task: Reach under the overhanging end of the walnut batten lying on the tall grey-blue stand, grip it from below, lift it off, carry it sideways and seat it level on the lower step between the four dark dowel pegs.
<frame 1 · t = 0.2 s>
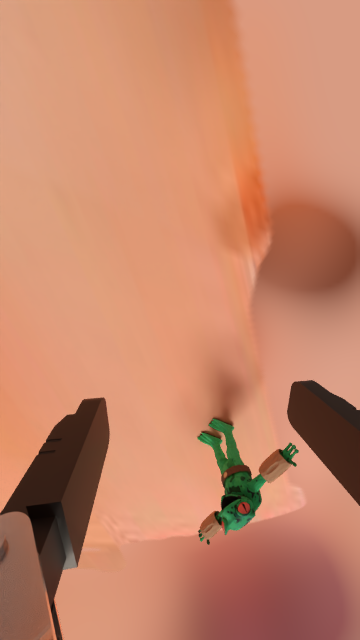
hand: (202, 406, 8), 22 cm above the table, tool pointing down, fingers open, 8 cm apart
toy: (216, 431, 42), on the table
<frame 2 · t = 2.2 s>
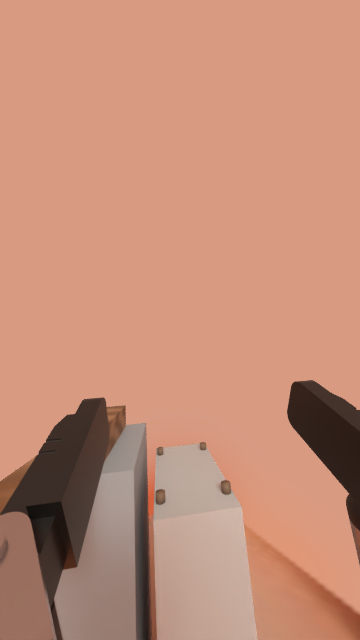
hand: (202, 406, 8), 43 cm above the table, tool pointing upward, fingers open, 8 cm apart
batten: (92, 457, 26), point 34 cm above the table, touching stand
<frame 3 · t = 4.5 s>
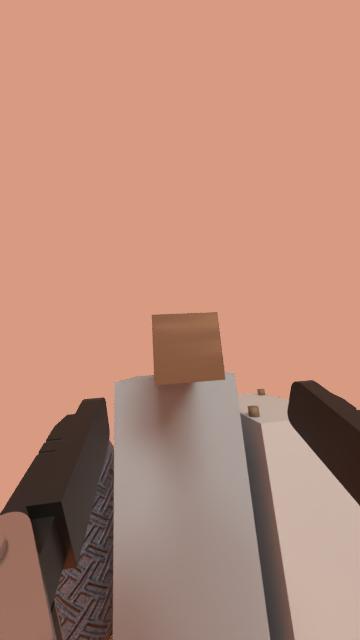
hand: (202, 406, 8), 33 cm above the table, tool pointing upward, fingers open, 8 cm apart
vase: (76, 625, 29), on the table
batten: (172, 376, 24), point 34 cm above the table, touching stand
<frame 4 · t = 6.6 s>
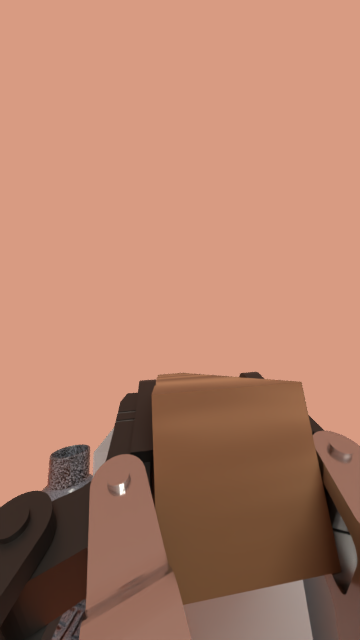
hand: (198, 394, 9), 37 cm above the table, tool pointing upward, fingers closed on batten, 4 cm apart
batten: (181, 422, 18), point 34 cm above the table, touching gripper, stand
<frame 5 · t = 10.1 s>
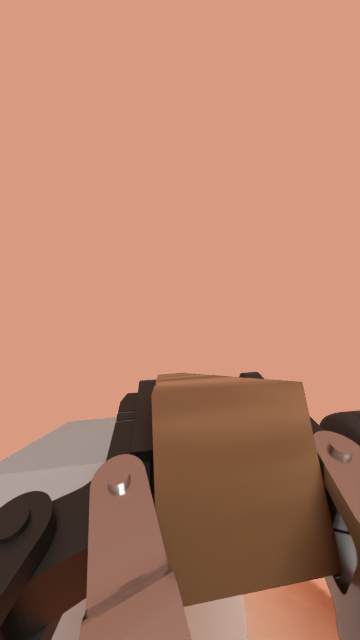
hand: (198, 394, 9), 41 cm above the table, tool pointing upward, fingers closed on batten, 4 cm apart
batten: (181, 422, 18), point 38 cm above the table, touching gripper
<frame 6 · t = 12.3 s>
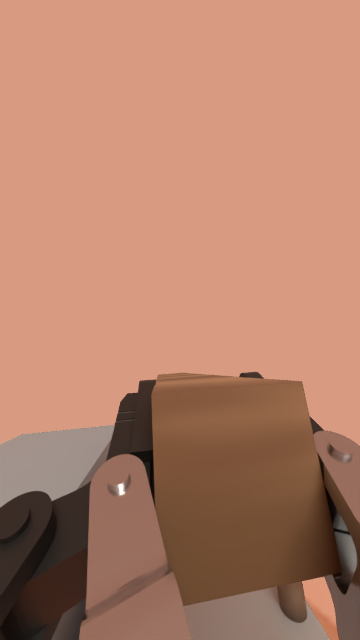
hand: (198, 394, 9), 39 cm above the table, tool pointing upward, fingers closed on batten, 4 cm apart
batten: (181, 422, 18), point 36 cm above the table, touching gripper
when the fingers open (34 cm above the table, at t = 13.8 s): batten drops 1 cm, resting on stand.
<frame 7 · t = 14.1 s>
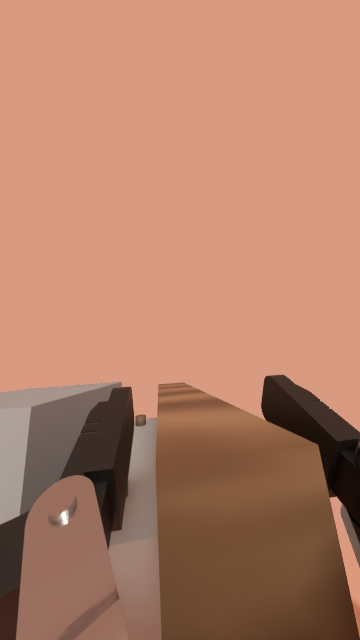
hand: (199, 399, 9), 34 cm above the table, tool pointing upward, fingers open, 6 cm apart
batten: (183, 441, 17), point 29 cm above the table, touching stand
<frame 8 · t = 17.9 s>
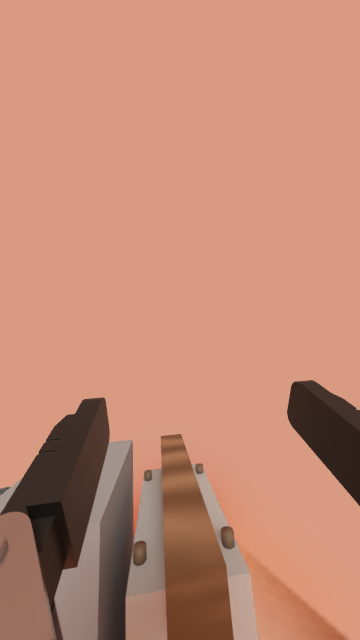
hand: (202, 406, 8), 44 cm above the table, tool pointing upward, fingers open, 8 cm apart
batten: (179, 504, 25), point 29 cm above the table, touching stand
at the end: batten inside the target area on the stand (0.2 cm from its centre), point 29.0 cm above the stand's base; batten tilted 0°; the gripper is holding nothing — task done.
